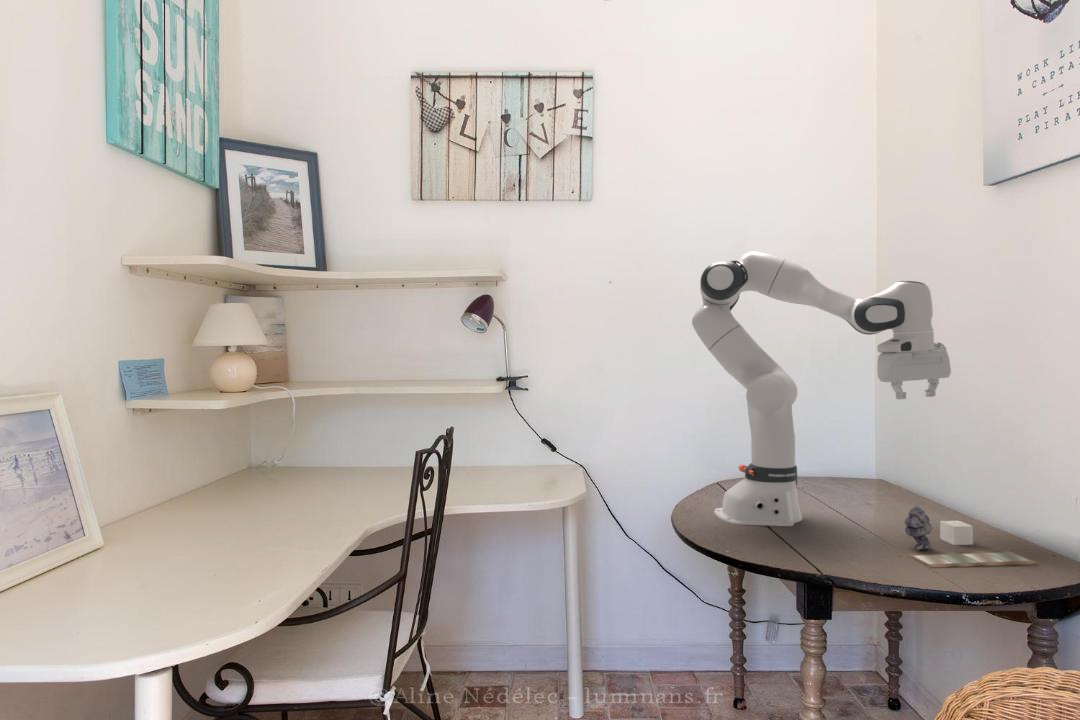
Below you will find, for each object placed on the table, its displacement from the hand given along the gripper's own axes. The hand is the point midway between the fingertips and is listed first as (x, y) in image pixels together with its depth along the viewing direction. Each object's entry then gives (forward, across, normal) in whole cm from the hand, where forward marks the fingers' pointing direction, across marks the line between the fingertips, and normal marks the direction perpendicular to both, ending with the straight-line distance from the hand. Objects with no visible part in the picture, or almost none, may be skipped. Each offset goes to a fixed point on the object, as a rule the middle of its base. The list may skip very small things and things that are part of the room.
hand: (915, 397), depth 157 cm
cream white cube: (+33, +5, +14) cm, 36 cm away
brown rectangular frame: (+32, +13, +24) cm, 43 cm away
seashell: (+32, +18, +15) cm, 40 cm away
